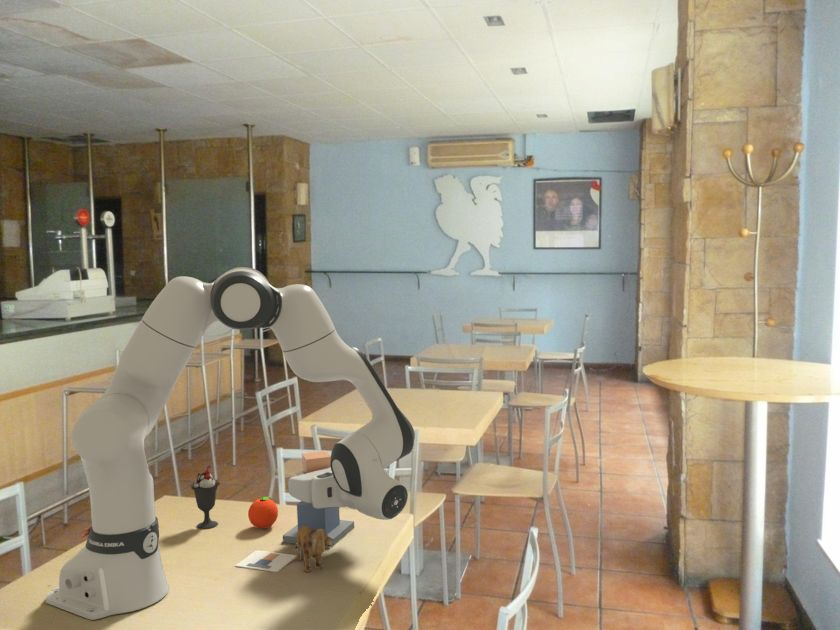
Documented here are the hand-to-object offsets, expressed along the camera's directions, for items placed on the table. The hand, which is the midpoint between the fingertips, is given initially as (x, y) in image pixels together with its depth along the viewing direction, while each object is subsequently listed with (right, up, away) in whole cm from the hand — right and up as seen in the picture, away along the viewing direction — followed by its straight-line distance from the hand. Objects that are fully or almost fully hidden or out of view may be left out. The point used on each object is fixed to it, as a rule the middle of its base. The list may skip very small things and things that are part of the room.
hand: (314, 471), depth 162 cm
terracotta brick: (+1, -5, 0) cm, 5 cm away
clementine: (-13, -15, +7) cm, 21 cm away
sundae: (-27, -15, +8) cm, 32 cm away
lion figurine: (+2, -16, -15) cm, 22 cm away
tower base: (+1, -15, +1) cm, 15 cm away
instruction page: (-8, -16, -13) cm, 22 cm away
